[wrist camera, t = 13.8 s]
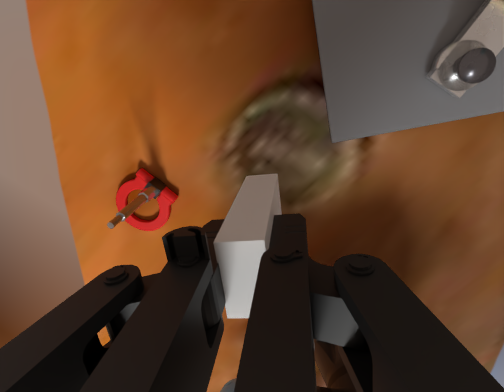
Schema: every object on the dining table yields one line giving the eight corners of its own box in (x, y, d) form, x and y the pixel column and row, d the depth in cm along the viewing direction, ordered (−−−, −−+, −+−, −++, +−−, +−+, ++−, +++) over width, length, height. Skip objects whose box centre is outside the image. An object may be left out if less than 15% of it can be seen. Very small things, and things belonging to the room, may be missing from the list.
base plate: (595, 91, 36) (607, 91, 35) (331, 140, 42) (332, 143, 40) (636, -209, 28) (654, -224, 26) (298, -95, 33) (298, -102, 32)
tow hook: (154, 237, 51) (185, 198, 48) (108, 290, 40) (144, 244, 36) (110, 204, 50) (138, 161, 46) (50, 249, 39) (81, 197, 35)
